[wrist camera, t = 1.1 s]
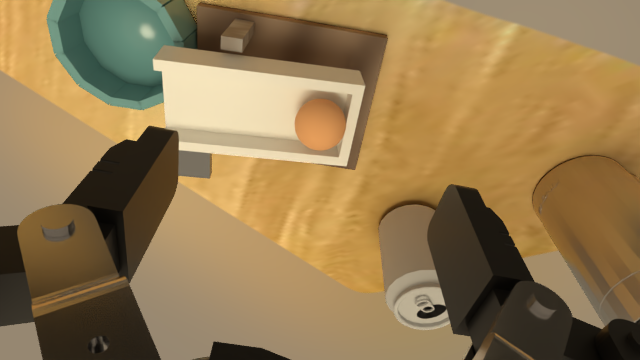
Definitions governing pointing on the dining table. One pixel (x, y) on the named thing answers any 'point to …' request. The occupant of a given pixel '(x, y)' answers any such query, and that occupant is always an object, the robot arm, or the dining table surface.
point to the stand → (296, 48)
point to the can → (411, 269)
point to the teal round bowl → (119, 45)
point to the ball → (320, 124)
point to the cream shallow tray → (249, 106)
